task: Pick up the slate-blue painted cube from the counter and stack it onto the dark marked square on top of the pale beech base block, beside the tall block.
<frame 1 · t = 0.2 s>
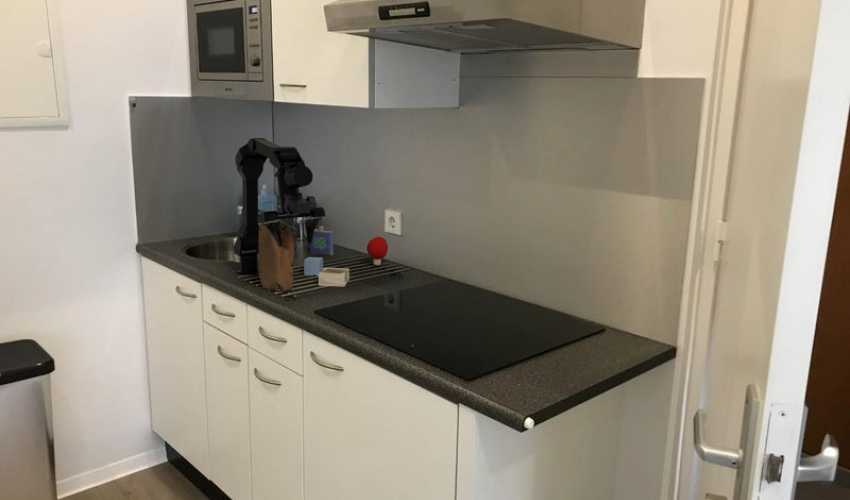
hand: (295, 245, 193), 15 cm above the worktop, tool pointing down, fingers open, 9 cm apart
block: (277, 288, 205), on the worktop
slate cube: (313, 273, 223), on the worktop
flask: (321, 255, 251), on the worktop
beech base: (334, 283, 213), on the worktop
red toy tree: (377, 266, 235), on the worktop
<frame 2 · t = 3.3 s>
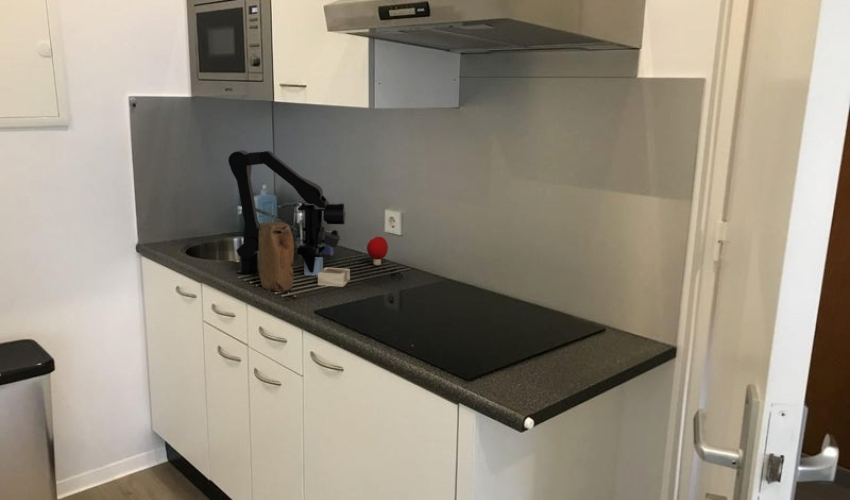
hand: (313, 270, 223), 1 cm above the worktop, tool pointing down, fingers closed on slate cube, 5 cm apart
slate cube: (313, 273, 223), on the worktop, touching gripper
everything else where it was.
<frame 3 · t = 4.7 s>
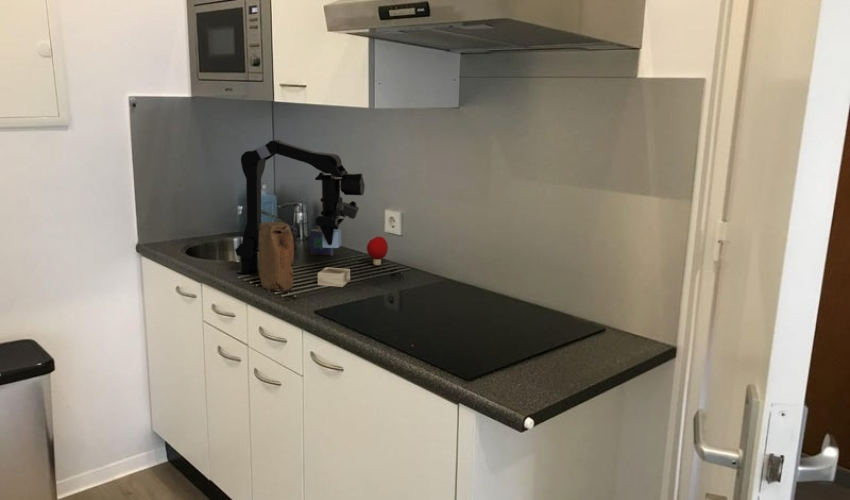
hand: (331, 243, 216), 11 cm above the worktop, tool pointing down, fingers closed on slate cube, 5 cm apart
slate cube: (332, 246, 217), point 10 cm above the worktop, touching gripper
everything else where it was.
when the fingers open (6 cm above the worktop, at t = 6.4 s): slate cube drops 1 cm, resting on beech base.
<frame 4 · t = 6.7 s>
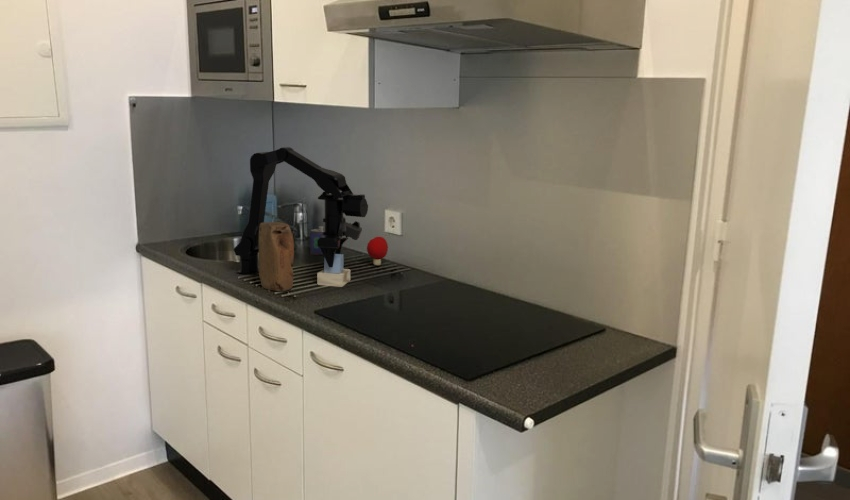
hand: (334, 263, 211), 6 cm above the worktop, tool pointing down, fingers open, 8 cm apart
slate cube: (333, 271, 212), point 4 cm above the worktop, touching beech base
beech base: (334, 283, 213), on the worktop, touching slate cube
everything else where it was.
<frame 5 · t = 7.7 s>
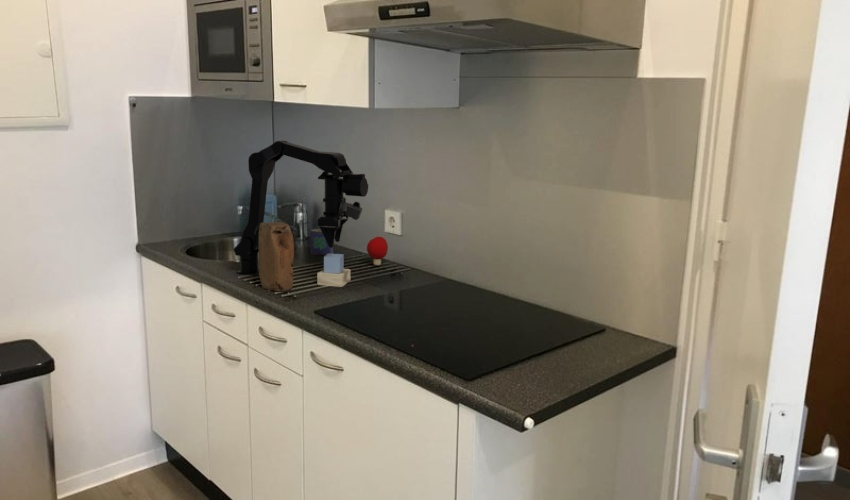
hand: (334, 244, 210), 12 cm above the worktop, tool pointing down, fingers open, 9 cm apart
nothing on the worktop moved.
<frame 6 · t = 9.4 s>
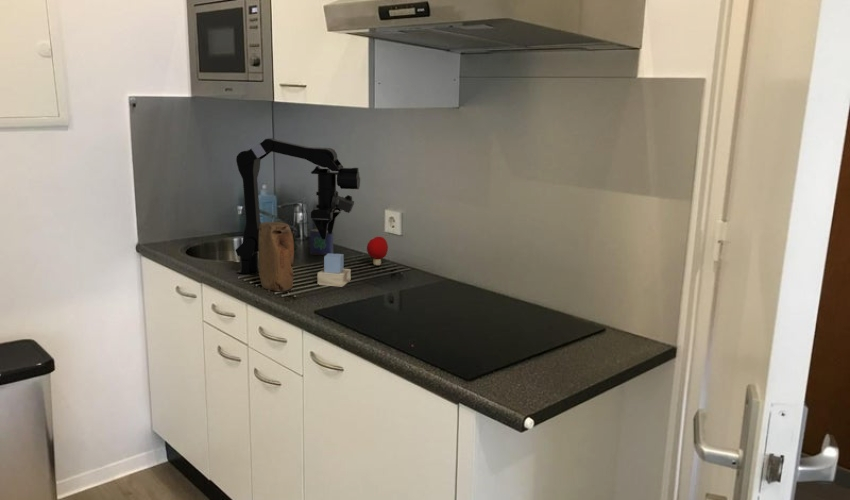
hand: (327, 236, 218), 13 cm above the worktop, tool pointing down, fingers open, 9 cm apart
nothing on the worktop moved.
at the end: slate cube 0.1 cm off-centre on the beech base, point 4.0 cm above the beech base's base; slate cube tilted 0°; the gripper is holding nothing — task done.
